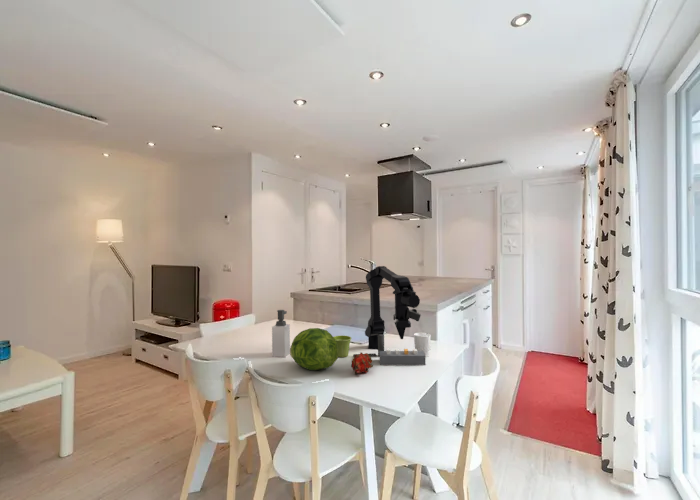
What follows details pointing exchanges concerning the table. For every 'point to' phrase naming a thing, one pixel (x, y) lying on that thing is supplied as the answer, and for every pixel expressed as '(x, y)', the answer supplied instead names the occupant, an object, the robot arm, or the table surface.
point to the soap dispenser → (281, 336)
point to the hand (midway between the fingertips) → (401, 339)
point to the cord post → (380, 343)
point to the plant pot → (343, 345)
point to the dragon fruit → (361, 363)
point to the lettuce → (314, 349)
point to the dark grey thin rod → (368, 354)
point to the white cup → (422, 343)
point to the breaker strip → (402, 357)
